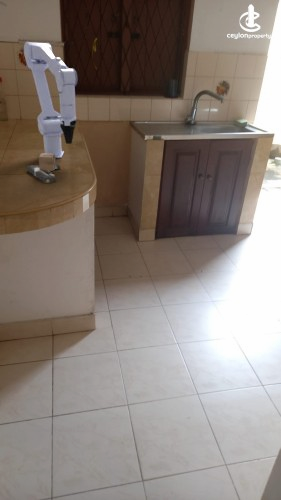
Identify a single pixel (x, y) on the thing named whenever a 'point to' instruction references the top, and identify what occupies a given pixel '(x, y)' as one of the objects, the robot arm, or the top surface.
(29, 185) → the top surface
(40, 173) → the handgun
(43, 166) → the walnut cube
